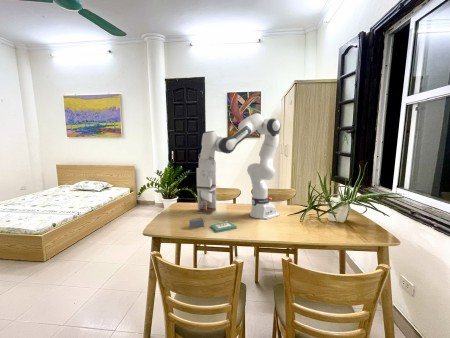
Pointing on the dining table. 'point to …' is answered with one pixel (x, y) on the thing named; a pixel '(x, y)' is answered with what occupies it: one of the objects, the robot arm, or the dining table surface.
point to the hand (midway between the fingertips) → (206, 177)
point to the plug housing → (196, 223)
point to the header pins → (223, 223)
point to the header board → (223, 227)
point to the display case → (206, 193)
